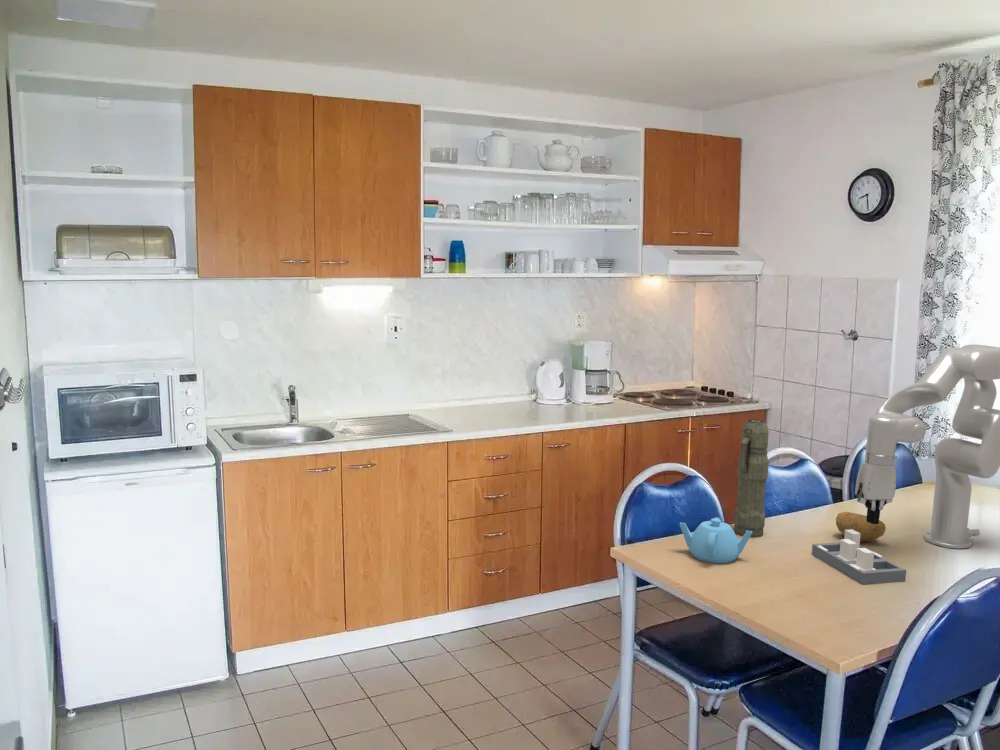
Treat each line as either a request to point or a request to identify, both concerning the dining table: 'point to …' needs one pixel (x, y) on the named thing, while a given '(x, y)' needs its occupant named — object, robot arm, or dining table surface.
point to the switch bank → (883, 567)
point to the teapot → (714, 541)
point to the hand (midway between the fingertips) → (872, 522)
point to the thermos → (752, 479)
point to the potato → (859, 526)
